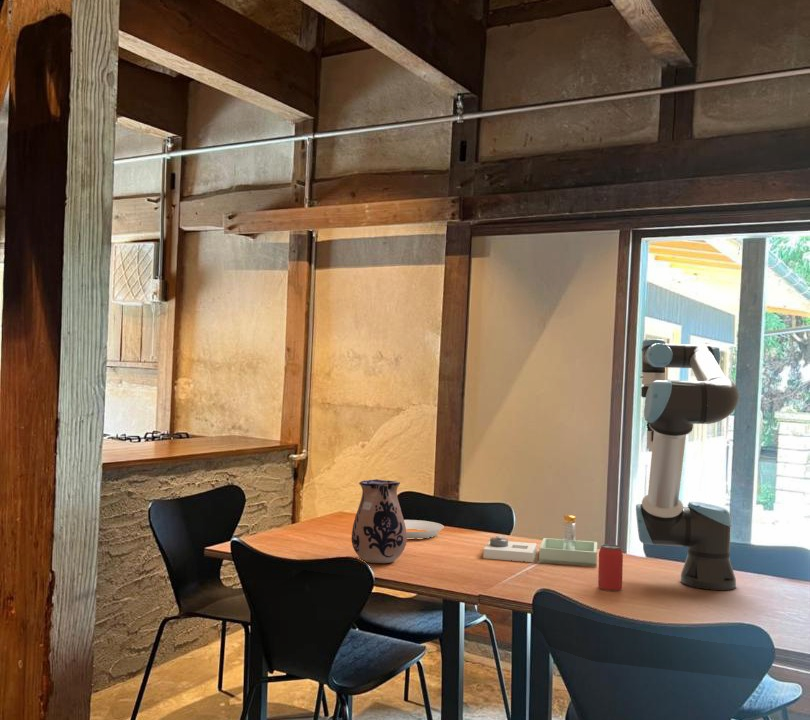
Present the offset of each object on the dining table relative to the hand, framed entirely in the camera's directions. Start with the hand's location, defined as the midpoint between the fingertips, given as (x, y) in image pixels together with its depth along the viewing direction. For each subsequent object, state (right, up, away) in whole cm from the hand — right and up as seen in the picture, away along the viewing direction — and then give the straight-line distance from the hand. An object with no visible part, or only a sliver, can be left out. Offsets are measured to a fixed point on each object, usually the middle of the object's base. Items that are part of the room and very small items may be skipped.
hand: (652, 450), depth 262 cm
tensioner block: (-46, -36, +3) cm, 58 cm away
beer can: (-24, -35, -38) cm, 57 cm away
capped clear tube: (-27, -35, 0) cm, 44 cm away
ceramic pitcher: (-91, -34, -9) cm, 97 cm away
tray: (-27, -36, 0) cm, 45 cm away
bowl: (-80, -36, +34) cm, 94 cm away
